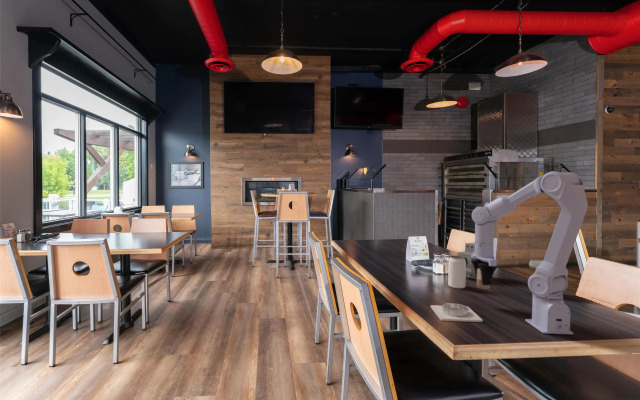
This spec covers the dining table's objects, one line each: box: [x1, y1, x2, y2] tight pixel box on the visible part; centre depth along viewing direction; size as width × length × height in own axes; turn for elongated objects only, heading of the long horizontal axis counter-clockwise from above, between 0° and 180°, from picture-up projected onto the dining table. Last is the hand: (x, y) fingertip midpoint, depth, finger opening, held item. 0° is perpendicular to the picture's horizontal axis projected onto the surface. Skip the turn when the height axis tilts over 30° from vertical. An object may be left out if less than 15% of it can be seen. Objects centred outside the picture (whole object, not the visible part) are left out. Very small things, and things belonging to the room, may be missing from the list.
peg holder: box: [430, 302, 483, 323], centre depth 108 cm, size 12×12×2 cm
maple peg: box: [476, 268, 491, 290], centre depth 116 cm, size 4×4×6 cm
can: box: [447, 255, 467, 290], centre depth 139 cm, size 6×6×12 cm
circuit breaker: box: [457, 242, 477, 281], centre depth 154 cm, size 8×14×15 cm, turn 115°
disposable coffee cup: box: [528, 259, 544, 276], centre depth 132 cm, size 10×10×12 cm
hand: (483, 283), depth 116 cm, fingers closed on maple peg, 4 cm apart
